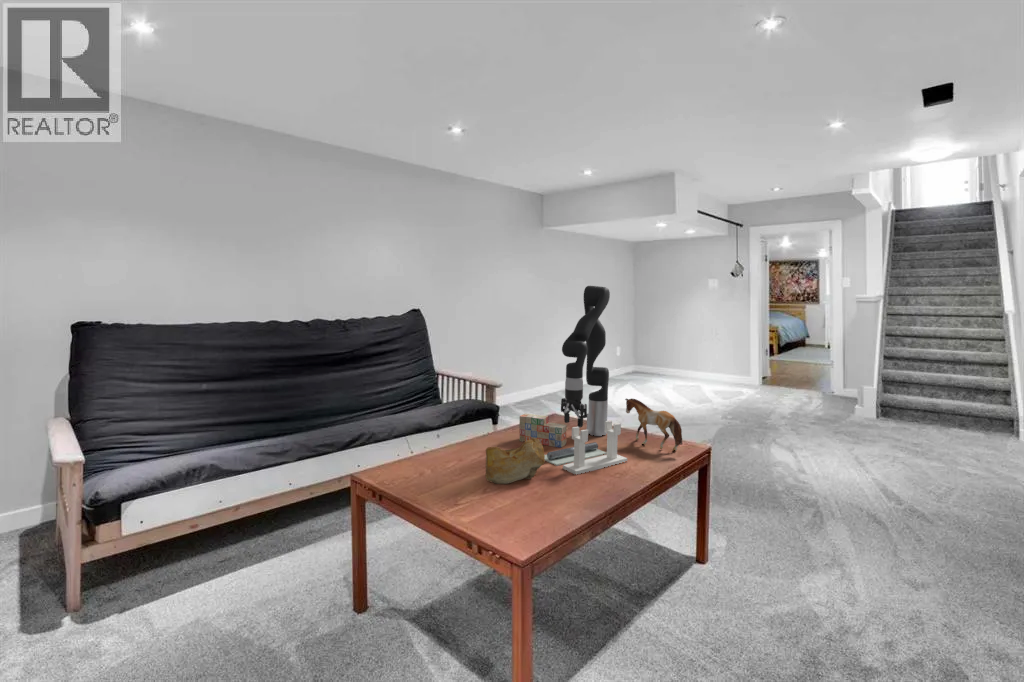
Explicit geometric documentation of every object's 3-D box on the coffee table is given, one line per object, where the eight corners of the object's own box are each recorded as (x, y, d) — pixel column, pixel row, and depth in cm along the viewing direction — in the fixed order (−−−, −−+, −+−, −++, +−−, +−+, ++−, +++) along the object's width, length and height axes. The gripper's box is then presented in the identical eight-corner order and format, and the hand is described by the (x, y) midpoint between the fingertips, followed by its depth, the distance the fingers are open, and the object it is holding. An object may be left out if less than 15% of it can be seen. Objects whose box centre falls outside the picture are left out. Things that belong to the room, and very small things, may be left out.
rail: (551, 461, 213) (552, 454, 212) (546, 458, 216) (547, 451, 215) (597, 450, 228) (598, 444, 227) (592, 447, 230) (593, 441, 230)
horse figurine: (622, 440, 245) (623, 397, 242) (632, 437, 249) (633, 395, 247) (680, 457, 221) (682, 410, 218) (690, 454, 225) (692, 407, 223)
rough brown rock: (532, 468, 208) (530, 431, 208) (549, 479, 193) (547, 439, 192) (476, 477, 200) (474, 438, 200) (489, 489, 185) (487, 447, 184)
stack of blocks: (566, 444, 238) (567, 418, 237) (561, 448, 232) (561, 421, 231) (524, 437, 248) (525, 412, 247) (518, 441, 242) (519, 415, 241)
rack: (562, 468, 206) (563, 428, 204) (613, 456, 221) (614, 418, 219) (576, 474, 199) (577, 433, 197) (627, 461, 215) (628, 422, 213)
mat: (538, 457, 219) (538, 456, 219) (587, 446, 234) (587, 445, 234) (556, 465, 209) (556, 464, 209) (606, 453, 224) (606, 452, 224)
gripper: (592, 389, 215) (591, 427, 217) (570, 383, 226) (569, 419, 228) (578, 391, 211) (577, 430, 213) (556, 385, 222) (556, 422, 224)
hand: (573, 424), depth 220 cm, fingers open, 8 cm apart
